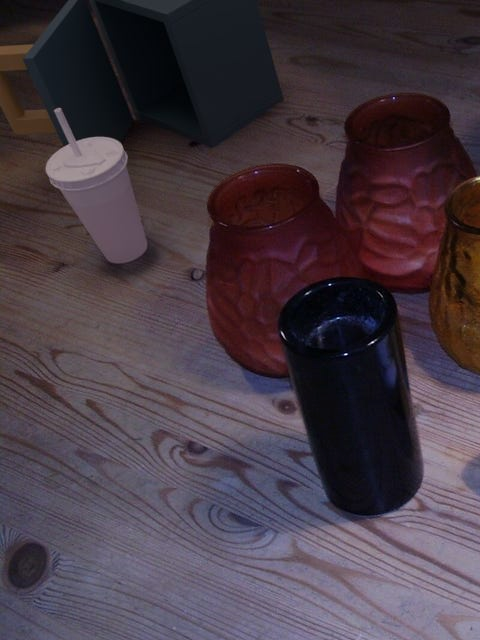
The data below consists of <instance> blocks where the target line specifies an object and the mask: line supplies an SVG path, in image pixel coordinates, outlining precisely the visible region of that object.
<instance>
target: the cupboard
mask: <svg viewBox="0 0 480 640" xmlns="http://www.w3.org/2000/svg"><path fill="white" fill-rule="evenodd" d="M88 1H89V4H90V6H91V9H92V11H93V14H94V17H95V19H96V21H97V24H98V26H99V29H100V31H101V34H102V36H103V39H104V41H105V44H106V47H107V49H108V51H109V55H110V56H111V59H112V61H113V64H114V66H115V69H116V71H117V74H118V77H119V79H120V81H121V84H122V86H123V87H122V88H123V89H124V92H125V94H126V97H127V99H128V101H129V104H130V106H131V110H132V112H133V114H134V116H135V119H137V120H140V121H144V122H146V123H148V124H151V125H153V126H156V127H157V128H158V127H159V128H161V129H164V130H166V131H168V132H171V133H173V134H176V135H179V136H181V137H184V138H186V139H189V140H191V141H194V142H197V143H199V144H202V145H203V146H206V147H208V148H211V149H215V148H216V147H217V146H218V145H220V144H222V143H223V142H225V141H226V140H227V139H230V137H232V136H233V135H234V134H236V133H237V132H239V131H240V130H242V129H243V128H245V127H246V126H248V125H249V124H250V123H252V122H254V121H255V120H256V119H258V118H259V117H261V116H262V115H263V114H265V113H266V112H268V111H269V110H271V109H272V108H274V107H275V106H276V105H278V104H279V103H281V102H283V101H284V98H285V97H284V94H283V91H282V88H281V84H280V81H279V77H278V74H277V73H278V72H277V70H276V66H275V62H274V58H273V55H272V51H271V48H270V45H269V40H268V37H267V34H266V29H265V26H264V22H263V19H262V15H261V11H260V7H259V4H258V1H257V0H88Z"/></svg>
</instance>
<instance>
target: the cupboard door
mask: <svg viewBox="0 0 480 640" xmlns="http://www.w3.org/2000/svg"><path fill="white" fill-rule="evenodd" d="M14 71H27V72H28V74H29V76H30V78H31V81H32V82H33V84H34V85H33V86H34V87H35V89H36V91H37V94H38V95H39V97H40V99H41V102H42V104H43V106H44V109H26V110H25V109H23V107H22V105H21V103H20V101H19V99H18V97H17V95H16V93H15V91H14V89H13V86H12V85H11V82H10V81H9V78H8V76H7V75H6V73H5V72H14ZM0 108H1V110H2V112H3V114H4V116H5V118H6V120H7V122H8V124H9V125H10V127H11V129H12V131H13V133H14V134H15V135H17V136H18V135H19V136H20V135H21V136H22V135H40V134H41V135H42V134H57V136H58V138H59V140H60V142H61V145H62V146H63V147H64V146H66V145H68V144H69V142H68V140H67V138H66V136H65V133H64V131H63V129H62V127H61V125H60V123H59V121H58V118H57V116H56V114H55V112H54V110H55V109H57V108H61V110H62V112H63V114H64V116H65V118H66V120H67V123H68V125H69V127H70V129H71V131H72V134H73V136H74V138H75V140H76V141H78V140H82V139H86V138H91V137H108V138H112V139H115V140H117V141H119V142H120V143H121V144H122V142H123V140H124V138H125V137H126V135H127V133H128V131H129V130H130V129H131V126H132V125H133V123H134V121H135V119H134V117H133V115H132V111H131V109H130V107H129V104H128V102H127V99H126V97H125V95H124V92H123V89H122V87H121V84H120V82H119V80H118V76H117V75H116V72H115V70H114V67H113V64H112V62H111V60H110V58H109V55H108V52H107V49H106V47H105V45H104V42H103V40H102V37H101V35H100V32H99V30H98V27H97V25H96V22H95V20H94V17H93V15H92V13H91V10H90V7H89V5H88V3H87V0H67V2H65V4H64V5H63V6H62V8H61V9H60V10H59V12H58V13H57V14H56V16H55V17H53V19H52V21H51V22H50V23H49V24H48V25H47V27H46V28H45V30H43V32H42V33H41V34H40V36H39V37H38V38H37V39H36V41H35V42H34V43H31V44H16V45H15V44H14V45H0Z"/></svg>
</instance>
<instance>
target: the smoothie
mask: <svg viewBox="0 0 480 640" xmlns="http://www.w3.org/2000/svg"><path fill="white" fill-rule="evenodd" d="M54 112H55V114H56V116H57V118H58V121H59V123H60V125H61V127H62V129H63V131H64V133H65V136H66V138H67V140H68V142H69V144H68V145H66V146H63V147H61V148H60V149H58V150H56V151H55V152H54V153H53V154H52V155H51V156H50V157H49V159H48V160H47V161H46V164H45V173H46V175H47V176H48V177H47V178H48V179H49V182H50V184H51V185H52V186H53V187H54V188H56V189H59V190H60V192H61V194H62V195H63V197H64V199H65V200H66V202H68V205H70V207H71V209H72V210H73V211H74V213H75V214H76V216H77V218H78V219H79V221H80V222H81V223H82V225H83V227H84V228H85V229H86V231H87V232H88V234H89V235H90V237H91V238H92V240H93V241H94V243H95V245H96V246H97V247H98V249H99V250H100V252H101V253H102V254H103V257H104V258H105V259H106V261H108V262H110V263H112V264H125V263H129V262H132V261H135V260H136V259H139V258H140V257H141V256H143V254H145V252H146V251H147V249H148V241H147V236H146V234H145V230H144V226H143V223H142V219H141V215H140V211H139V208H138V204H137V200H136V196H135V193H134V190H133V186H132V182H131V178H130V174H129V171H128V168H127V164H128V159H129V155H128V153H127V151H126V150H125V149H124V146H123V144H122V142H121V143H120V142H119V141H117V140H115V139H112V138H108V137H91V138H86V139H82V140H78V141H76V140H75V138H74V136H73V134H72V131H71V129H70V127H69V125H68V123H67V120H66V118H65V116H64V114H63V112H62V110H61V108H57V109H55V110H54Z"/></svg>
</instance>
